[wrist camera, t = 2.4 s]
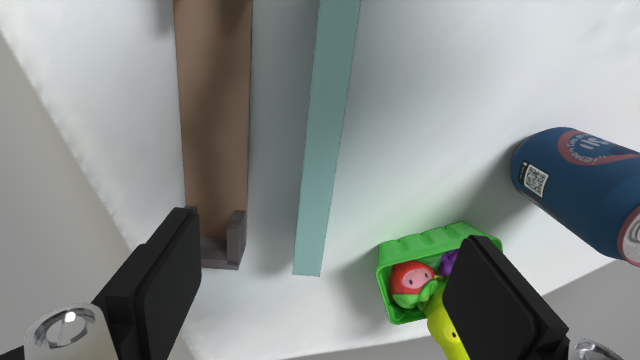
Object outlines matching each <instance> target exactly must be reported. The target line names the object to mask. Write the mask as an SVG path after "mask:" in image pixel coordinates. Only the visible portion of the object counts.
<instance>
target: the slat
mask: <svg viewBox="0 0 640 360" xmlns="http://www.w3.org/2000/svg"><path fill="white" fill-rule="evenodd" d="M360 4H361V0H320V2H319V11H318V21H317V31H316V41H315V50H314V60H313V70H312V80H311V90H310V99H309V109H308V119H307V129H306V138H305V148H304V158H303V168H302V177H301V187H300V197H299V207H298V217H297V226H296V236H295V248H294V260H293V272H292V275H305V276H318V277H320V271H321V265H322V258H323V251H324V245H325V238H326V231H327V224H328V218H329V211H330V204H331V198H332V191H333V184H334V178H335V171H336V164H337V158H338V151H339V144H340V138H341V131H342V124H343V117H344V111H345V104H346V97H347V91H348V84H349V77H350V71H351V64H352V57H353V51H354V44H355V37H356V31H357V24H358V17H359V10H360Z"/></svg>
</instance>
